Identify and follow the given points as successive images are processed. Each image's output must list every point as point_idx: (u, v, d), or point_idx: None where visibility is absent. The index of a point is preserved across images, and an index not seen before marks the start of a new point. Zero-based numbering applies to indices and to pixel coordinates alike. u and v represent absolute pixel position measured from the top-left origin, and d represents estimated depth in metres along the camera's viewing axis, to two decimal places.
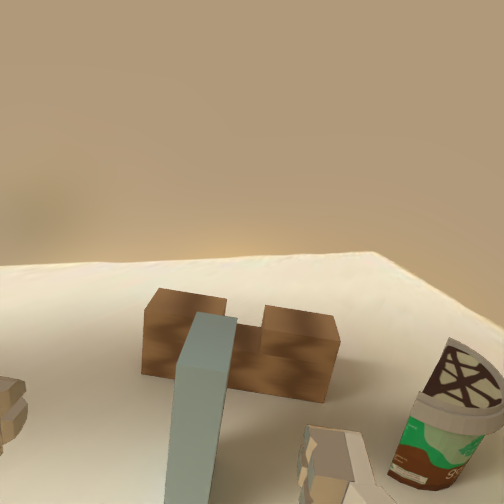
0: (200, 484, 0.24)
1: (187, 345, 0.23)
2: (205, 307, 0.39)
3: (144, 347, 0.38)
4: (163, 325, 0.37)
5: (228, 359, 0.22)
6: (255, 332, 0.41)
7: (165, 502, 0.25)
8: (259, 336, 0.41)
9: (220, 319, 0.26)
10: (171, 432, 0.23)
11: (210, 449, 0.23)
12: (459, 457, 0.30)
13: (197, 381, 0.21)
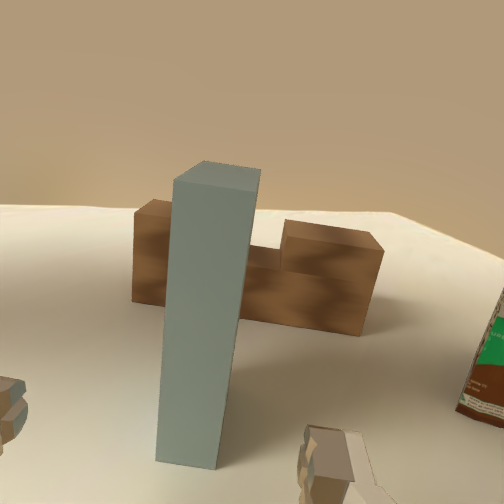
0: (210, 395, 0.16)
1: (190, 173, 0.15)
2: None
3: (135, 265, 0.30)
4: (158, 233, 0.29)
5: (254, 186, 0.14)
6: (273, 253, 0.33)
7: (159, 426, 0.17)
8: (278, 256, 0.33)
9: (237, 167, 0.18)
10: (167, 307, 0.15)
11: (226, 335, 0.15)
12: None
13: (207, 212, 0.13)
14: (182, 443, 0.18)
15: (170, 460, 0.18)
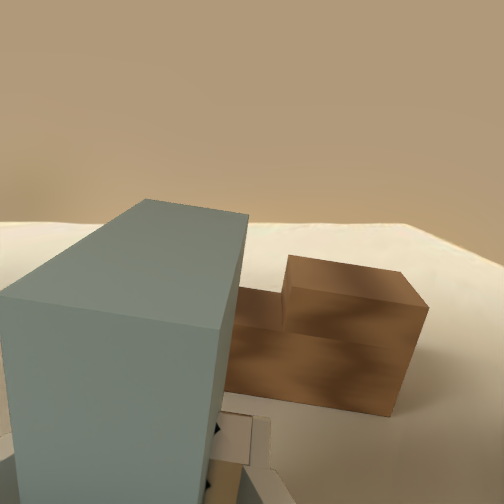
0: None
1: (81, 249, 0.07)
2: None
3: None
4: None
5: (223, 290, 0.06)
6: (272, 300, 0.25)
7: None
8: (279, 305, 0.24)
9: (205, 213, 0.10)
10: None
11: None
12: None
13: (94, 373, 0.05)
14: None
15: None
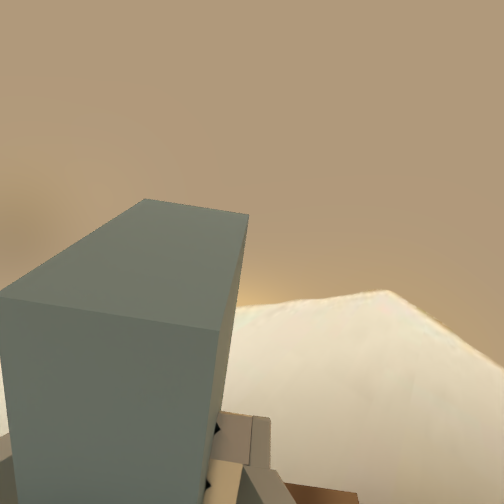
0: None
1: (80, 249, 0.07)
2: None
3: None
4: None
5: (223, 290, 0.06)
6: None
7: None
8: None
9: (205, 213, 0.10)
10: None
11: None
12: None
13: (93, 374, 0.05)
14: None
15: None
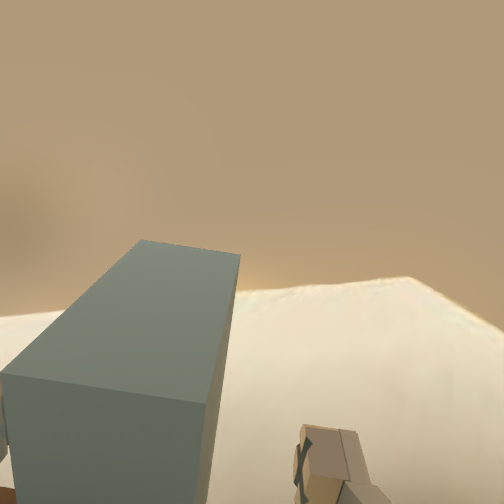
0: None
1: (79, 310, 0.07)
2: None
3: None
4: None
5: (211, 353, 0.06)
6: None
7: None
8: None
9: (198, 255, 0.10)
10: None
11: None
12: None
13: (91, 439, 0.06)
14: None
15: None
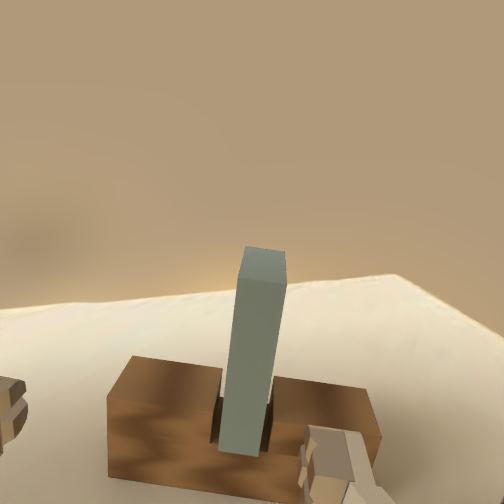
0: (256, 406, 0.25)
1: (244, 266, 0.24)
2: (192, 385, 0.29)
3: (110, 444, 0.28)
4: (133, 416, 0.27)
5: (284, 276, 0.23)
6: None
7: (222, 427, 0.26)
8: (267, 420, 0.30)
9: (269, 252, 0.27)
10: (230, 351, 0.24)
11: (267, 368, 0.24)
12: None
13: (257, 295, 0.22)
14: (236, 438, 0.26)
15: (228, 450, 0.27)
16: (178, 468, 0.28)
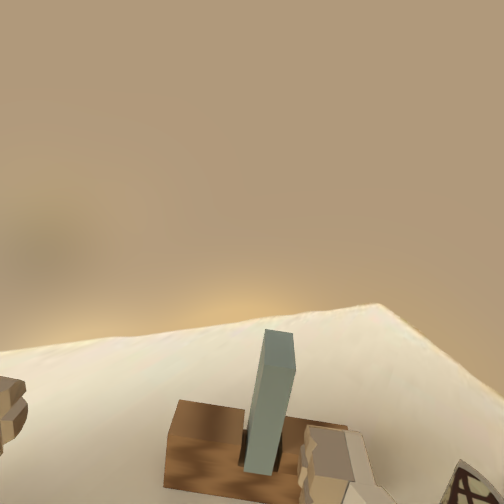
0: (272, 443, 0.37)
1: (266, 352, 0.36)
2: (225, 424, 0.41)
3: (167, 465, 0.40)
4: (185, 447, 0.39)
5: (294, 361, 0.35)
6: None
7: (247, 456, 0.38)
8: None
9: (282, 334, 0.39)
10: (256, 408, 0.36)
11: (280, 419, 0.36)
12: None
13: (276, 375, 0.34)
14: (257, 464, 0.38)
15: (250, 471, 0.39)
16: (214, 482, 0.40)
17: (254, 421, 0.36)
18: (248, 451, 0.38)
